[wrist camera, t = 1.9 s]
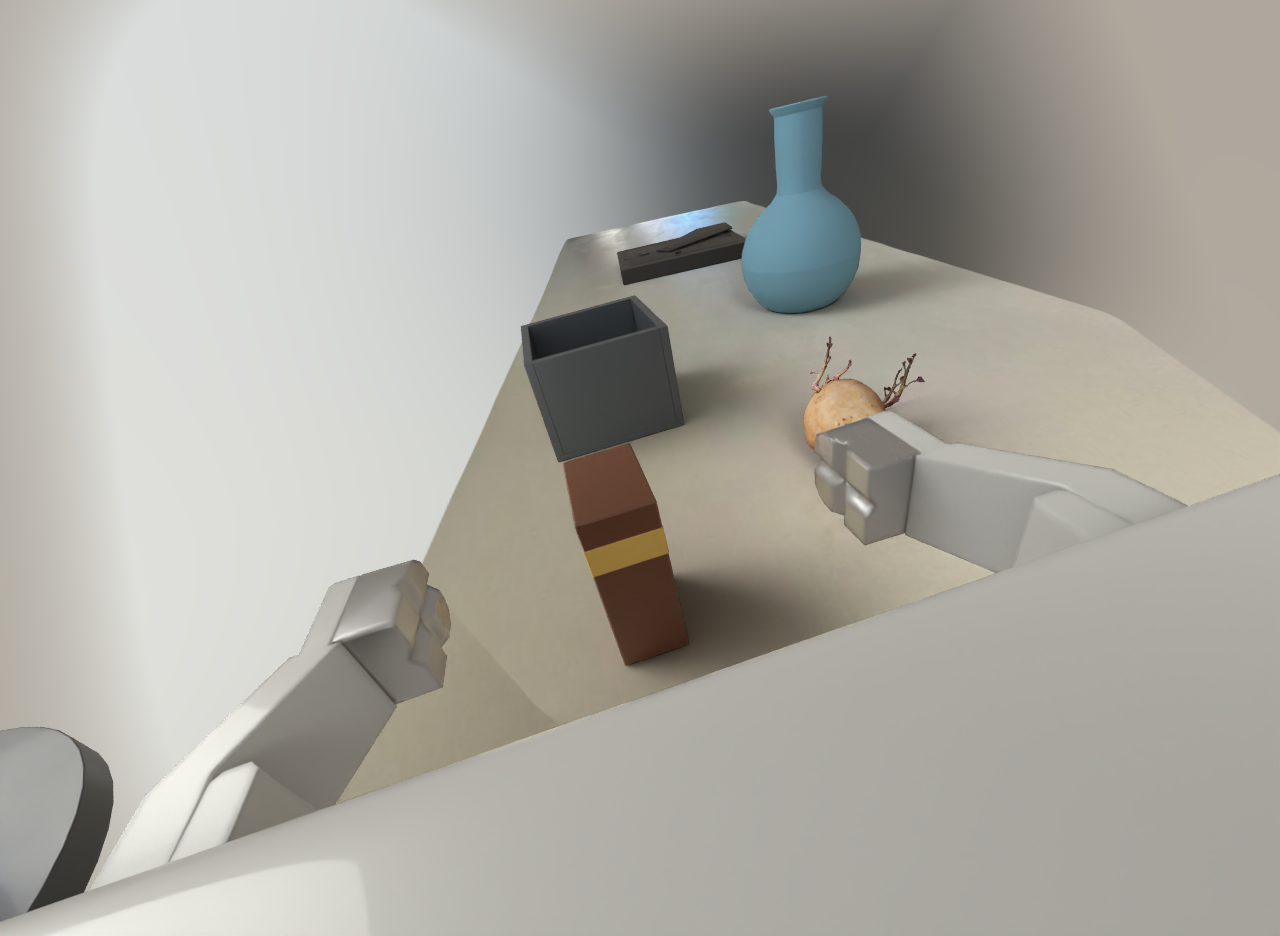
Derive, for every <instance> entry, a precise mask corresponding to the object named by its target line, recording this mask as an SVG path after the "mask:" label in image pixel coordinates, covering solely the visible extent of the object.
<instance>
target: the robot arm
mask: <svg viewBox="0 0 1280 936" xmlns="http://www.w3.org/2000/svg"><path fill="white" fill-rule="evenodd" d="M814 452H815V453H816V454H817V455H818V456H819V457H820V458H821V460H820V462H819V463H818V465H817V467H816V468H815V484H816V487H817V490H818V493H819V496H820V497H821V499H822V501H823V502H824V504H825V505H826V506H827V507H828V508H829V509H830V510H831V511H832V512H835V513H838V514H842V515H845V516H844V525H845V526H846V527H847V528H848V529H849V530H850V531H851V532H852V533H853V534H854V535H855V536H856V537H857V538H858V539H859V540H860V541H861V542H862V543H863V544H864V545H867V544H871V543H874V542H877V541H880V540H884V539H887V538H890V537H893V536H897V535H900V534H903V533H906V534H905V535H907V536H909V537H912V538H914V539H916V540H919V541H921V542H923V543H926V544H928V545H931V546H933V547H935V548H938V549H940V550H943V551H945V552H947V553H950V554H952V555H955V556H957V557H959V558H962V559H964V560H967V561H969V562H971V563H974V564H976V565H978V566H981V567H983V568H986V569H988V570H990V571H993V572H995V574H993V575H990V576H987V577H984V578H981V579H978V580H975V581H973V582H970V583H967V584H964V585H961V586H958V587H955V588H953V589H950V590H947V591H944V592H941V593H938V594H935V595H933V596H930V597H927V598H924V599H921V600H918V601H915V602H913V603H910V604H907V605H904V606H901V607H898V608H895V609H893V610H890V611H887V612H884V613H881V614H878V615H875V616H873V617H870V618H867V619H864V620H861V621H858V622H855V623H852V624H850V625H847V626H844V627H841V628H838V629H835V630H832V631H830V632H827V633H824V634H821V635H818V636H815V637H812V638H810V639H807V640H804V641H801V642H798V643H795V644H792V645H790V646H787V647H784V648H781V649H778V650H775V651H772V652H770V653H767V654H764V655H761V656H758V657H755V658H752V659H749V660H747V661H744V662H741V663H738V664H735V665H732V666H730V667H727V668H724V669H721V670H718V671H715V672H712V673H710V674H707V675H704V676H701V677H698V678H695V679H692V680H690V681H687V682H684V683H681V684H678V685H675V686H672V687H670V688H667V689H664V690H661V691H658V692H655V693H652V694H650V695H647V696H644V697H641V698H638V699H635V700H632V701H630V702H627V703H624V704H621V705H618V706H615V707H612V708H610V709H607V710H604V711H601V712H598V713H595V714H592V715H590V716H587V717H584V718H581V719H578V720H575V721H572V722H570V723H567V724H564V725H561V726H558V727H555V728H552V729H550V730H547V731H544V732H541V733H538V734H535V735H532V736H530V737H527V738H524V739H521V740H518V741H515V742H512V743H510V744H507V745H504V746H501V747H498V748H495V749H492V750H490V751H487V752H484V753H481V754H478V755H475V756H472V757H470V758H467V759H464V760H461V761H458V762H455V763H452V764H450V765H447V766H444V767H441V768H438V769H435V770H432V771H430V772H427V773H424V774H421V775H418V776H415V777H412V778H410V779H407V780H404V781H401V782H398V783H395V784H392V785H390V786H387V787H384V788H381V789H378V790H375V791H372V792H370V793H367V794H364V795H361V796H358V797H355V798H352V799H350V800H347V801H344V802H341V803H338V804H336V802H337V800H338V799H339V797H340V796H341V794H342V793H343V791H344V789H345V788H346V786H347V785H348V783H349V781H350V780H351V778H352V777H353V775H354V774H355V772H356V770H357V769H358V767H359V766H360V764H361V763H362V761H363V759H364V758H365V756H366V755H367V753H368V751H369V750H370V748H371V747H372V745H373V744H374V742H375V740H376V739H377V737H378V736H379V734H380V733H381V731H382V729H383V728H384V726H385V725H386V723H387V721H388V720H389V718H390V717H391V715H392V714H393V712H394V710H395V709H396V707H397V706H396V705H395V704H398V703H401V702H404V701H406V700H409V699H412V698H415V697H417V696H420V695H423V694H425V693H428V692H431V691H434V690H436V689H439V688H442V687H443V682H444V675H445V668H446V660H447V655H446V654H445V652H444V651H443V650H442V648H441V647H442V646H443V645H444V643H445V642H446V641H447V639H448V638H449V637H450V628H451V621H450V614H449V609H448V606H447V603H446V601H445V598H444V597H443V595H442V594H441V592H440V590H438V589H436V588H434V587H431V586H429V585H427V581H428V576H429V573H428V572H427V570H426V569H425V568H424V566H423V565H422V563H421V562H420V561H416V560H411V561H407V562H404V563H401V564H397V565H394V566H391V567H387V568H383V569H380V570H377V571H373V572H370V573H367V574H363V575H361V576H356V577H353V578H350V579H347V580H344V581H340V582H337V583H335V584H334V585H332V586H330V587H329V588H328V590H327V593H326V595H325V597H324V600H323V602H322V604H321V606H320V609H319V611H318V613H317V615H316V617H315V620H314V622H313V624H312V626H311V628H310V631H309V633H308V635H307V637H306V640H305V642H304V644H303V646H302V649H301V651H300V653H299V655H296V656H294V657H291V658H289V659H288V660H287V661H286V662H285V663H283V664H282V665H281V666H280V667H279V668H278V669H277V670H276V671H275V672H274V673H273V674H272V675H271V676H270V677H269V678H268V679H267V680H266V681H265V682H264V683H262V684H261V685H260V686H259V687H258V688H257V689H256V690H255V691H254V692H253V693H252V694H251V695H250V696H249V697H248V698H247V699H246V700H245V701H244V702H243V703H241V705H239V706H238V707H237V708H236V709H235V710H234V711H233V712H232V713H231V714H230V715H229V716H228V717H227V718H226V719H225V720H224V721H223V722H222V723H220V724H219V725H218V726H217V727H216V728H215V729H214V730H213V731H212V732H211V733H210V734H209V735H208V736H207V737H206V738H205V739H204V740H203V741H202V742H201V743H199V744H198V745H197V746H196V747H195V748H194V749H193V750H192V751H191V752H190V753H189V754H188V755H187V756H186V757H185V758H184V759H183V760H182V761H181V762H180V763H179V764H177V765H176V766H175V767H174V768H173V769H172V770H171V771H170V772H169V773H168V774H167V775H166V776H165V777H164V778H163V779H162V780H161V781H160V782H159V783H157V785H155V786H154V787H153V788H152V789H151V790H150V791H149V792H148V793H147V794H146V795H145V797H144V799H143V800H142V802H141V804H140V805H139V807H138V809H137V810H136V812H135V814H134V815H133V817H132V819H131V820H130V822H129V824H128V825H127V827H126V829H125V830H124V833H123V834H122V836H121V837H120V839H119V841H118V842H117V844H116V846H115V847H114V849H113V851H112V852H111V854H110V856H109V858H108V859H107V861H106V863H105V864H104V866H103V868H102V869H101V871H100V873H99V874H98V876H97V878H96V879H95V881H94V883H93V885H92V886H91V888H90V890H89V891H87V892H84V893H81V894H78V895H75V896H73V897H70V898H67V899H64V900H61V901H58V902H55V903H53V904H50V905H47V906H44V907H41V908H38V909H35V910H33V911H30V912H27V913H24V914H21V915H18V916H15V917H13V918H10V919H7V920H4V921H1V922H0V936H1280V474H1278V475H1275V476H1273V477H1270V478H1267V479H1264V480H1261V481H1258V482H1255V483H1253V484H1250V485H1247V486H1244V487H1241V488H1238V489H1235V490H1233V491H1230V492H1227V493H1224V494H1221V495H1218V496H1215V497H1213V498H1210V499H1207V500H1204V501H1201V502H1198V503H1195V504H1193V505H1190V506H1188V505H1186V504H1184V503H1182V502H1180V501H1178V500H1176V499H1174V498H1172V497H1170V496H1168V495H1165V494H1163V493H1161V492H1159V491H1157V490H1155V489H1153V488H1151V487H1149V486H1147V485H1145V484H1143V483H1141V482H1139V481H1137V480H1135V479H1132V478H1130V477H1128V476H1126V475H1124V474H1122V473H1120V472H1118V471H1116V470H1114V469H1110V468H1104V467H1098V466H1092V465H1086V464H1080V463H1074V462H1068V461H1062V460H1056V459H1050V458H1044V457H1038V456H1033V455H1027V454H1021V453H1015V452H1009V451H1003V450H997V449H991V448H985V447H979V446H973V445H967V444H961V443H953V444H950V445H948V444H946V443H945V442H943V441H941V440H940V439H938V438H936V437H935V436H933V435H931V434H930V433H928V432H926V431H925V430H923V429H921V428H920V427H918V426H916V425H915V424H913V423H911V422H910V421H908V420H906V419H905V418H903V417H901V416H900V415H898V414H896V413H895V412H893V411H883V412H880V413H877V414H874V415H871V416H868V417H866V418H863V419H862V420H859V421H856V422H853V423H849V424H846V425H843V426H840V427H837V428H834V429H831V430H828V431H825V432H822V433H819V434H817V436H816V439H815V448H814Z"/></svg>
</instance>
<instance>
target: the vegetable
mask: <svg viewBox="0 0 1280 936" xmlns="http://www.w3.org/2000/svg"><path fill="white" fill-rule="evenodd" d="M826 344H827V347H828V350H827V354H826V357H825V361H824V365H823V368H822V370H821V372H820V373H819V374H818V373H816V374H817V376H818V378H817V379H816V381H815V382H814V383H813V384H812V386H811V388H812V389H813V390H815V391H816V392H815V393H814V395H813V396H812V398H811V400H810V401H809V403H808V405H807V407H806V410H805V413H804V428H805V437H806V440H807V443H808V444H809V446H810V447H811V448H812V449H813V450H814V448H815V439H816V436H817V434H819V433H822V432H825V431H828V430H831V429H834V428H837V427H840V426H843V425H846V424H849V423H853V422H856V421H859V420H862V419H863V418H866V417H868V416H871V415H874V414H877V413H880V412H883V411H885V408H887V407H890V406H892V405H893V404H894V403H895V402H898V400H900V399H899V398H900V396H901V394H902V391H903V389H904V388H905V387H907V386H908V385H909V384H910V383H912V382H916V381H918V382H925V381H924V380H923V378H922V377H918V378H917V380H915V381H912V382H910V383H909V384H908V385H905V383H906V379H907V375H908V372H909V369H910V366H911V364H912V362H913V360H914V357H915V356H916V354H913V356H912V357H913V359H912V358H907V360H908V362H909V365H908V367H907V370H906V368H905V363H906V362H905V361H904V362H903V366H904V369H905V374H904V376H902V377H901V378H900V381H901V382H902V384H901V386H900V389H899V391H898V393H896V392H895V391H893V390H894V389H895V387H897V386H898V385H899V384H900V383H901V382H900V383H898V384H896V380H897V377H898V375H899V373H900V371H901V370H902V368H903V367H902V368H901V370H899V371H898V373H897V375H896V378H895V381H894V384H893V387H892V389H891V388H890V387H888V388H886V387H884V391H885V390H888V391H890V392H889V394H888V395H886V392H885V399H884V400H883V401H881V400H880V398H879V396H878V395H877V394H876V393H875V392H874V391H873V390H872V389H871V388H869V387H868V386H866V385H865V384H863V383H861V382H860V381H857V380H854V379H839V377H840V376H841V375H842V374H844V373H845V372H846V371H847V370H848V368H849V367H850V366H851V360H849V364H848V366H847V367H846V369H845V370H843V371H842V372H841V373H839V374H837V375H836V376H835V377H834V379H833V380H830V381H828V380H829V378H828V376H827V379H826V382H825V385H824V386H823V385H822V387H821V388H819V387H817V386H819V385H818V383H819V381H820V379H821V377H822V375H823V373H824V371H825V369H826V367H827V364H828V362H829V361H830V359H831V356H829V350H830V348H831V347H832V344H831V337H829V344H828V343H826ZM828 357H829V360H828V362H827V359H828ZM812 373H813V372H811V373H810V374H812ZM827 381H828V382H827ZM831 381H832V382H831ZM892 392H893V393H894V394H895V396H894V398H893V399H892V400H891V401H890V402H888V403H886V402H887V401H888V400H889V398H890V396H891V394H892ZM885 403H886V404H885Z"/></svg>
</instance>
